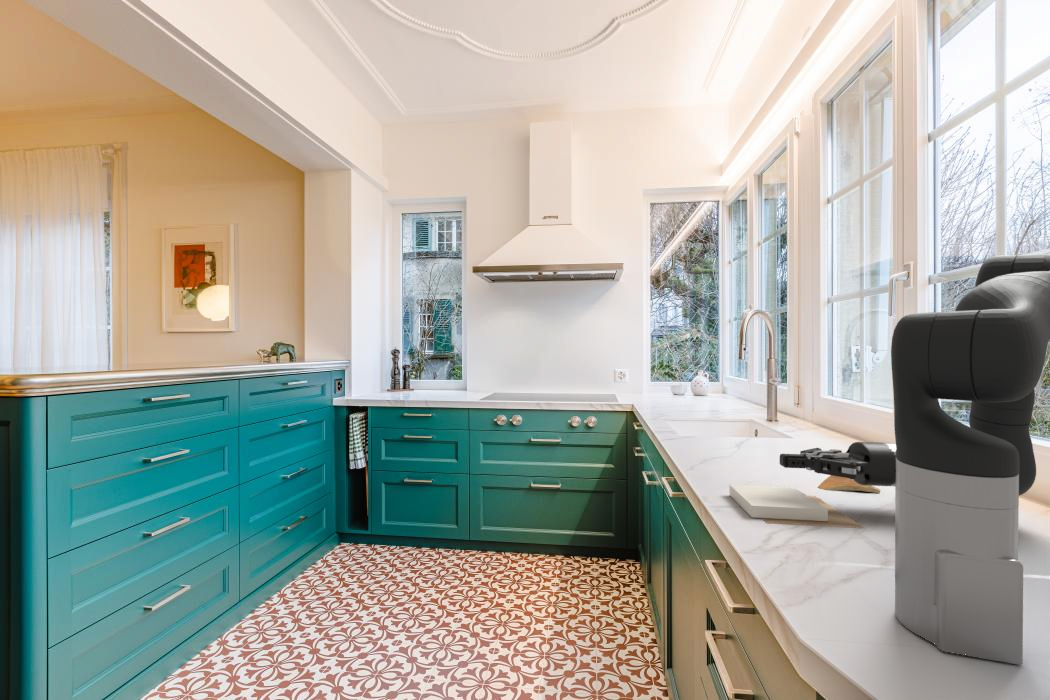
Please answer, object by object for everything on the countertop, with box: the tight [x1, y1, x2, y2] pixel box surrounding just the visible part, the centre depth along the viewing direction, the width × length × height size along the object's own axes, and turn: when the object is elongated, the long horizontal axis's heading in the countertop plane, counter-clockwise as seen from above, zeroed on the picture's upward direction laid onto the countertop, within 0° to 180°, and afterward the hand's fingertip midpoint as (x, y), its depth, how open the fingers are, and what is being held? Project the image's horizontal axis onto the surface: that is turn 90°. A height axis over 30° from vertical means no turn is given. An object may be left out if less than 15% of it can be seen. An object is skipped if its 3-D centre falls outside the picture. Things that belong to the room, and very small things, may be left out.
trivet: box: [761, 495, 865, 529], centre depth 81 cm, size 16×15×1 cm
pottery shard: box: [817, 475, 881, 494], centre depth 94 cm, size 10×9×2 cm
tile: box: [729, 484, 828, 521], centre depth 82 cm, size 12×2×12 cm
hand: (781, 460), depth 81 cm, fingers closed
